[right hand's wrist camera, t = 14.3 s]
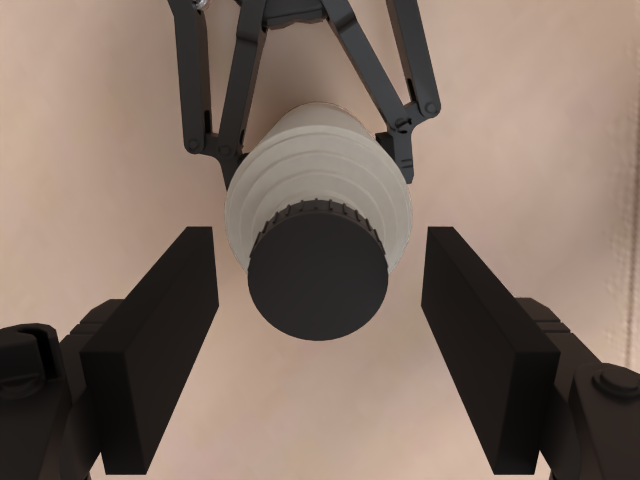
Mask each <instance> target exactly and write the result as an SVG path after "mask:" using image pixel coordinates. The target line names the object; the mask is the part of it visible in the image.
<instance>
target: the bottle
mask: <svg viewBox="0 0 640 480" xmlns="http://www.w3.org/2000/svg"><path fill="white" fill-rule="evenodd" d="M315 198H318V200H327V201H329V199H332V201H333V202H337V203H340V204H343V203H345V204H346V206H348V207H350V208H351V209H353V210H358V212H359V214H360V215H362V216H363V217H364V218H365V219H366V218H367V219H368V220H369V223H370V225H371V226H372V228H373V229H376V231H377V234H378V236H379V239H380V241H381V242H382V245H383V247H384V250H385V253H386V255H385V258H386V261H387V263H388V275H389V274H390V273H391V271H392V270H393V269H394V267H395V266H396V264H397V263H398V261H399V260H400V258H401V256H402V254H403V252H404V250H405V248H406V246H407V243H408V240H409V237H410V232H411V227H412V203H411V198H410V193H409V189H408V187H407V184H406V181H405V179H404V177H403V175H402V173H401V171H400V169H399V168H398V166H397V165H396V164H395V162H394V161H393V160H392V158H391V157H390V156H389V155H388V154H387V153H386V151H385V150H384V149H383V148H382V147H381V146H380V145H379V143H378V142H377V141H376V140H375V139H374V138H373V137H372V136H371V134H370V133H369V132H368V131H367V130H366V129H365V128H364V126H363V125H362V124H361V123H360V122H359V121H358V120H357V119H356V118H355V117H354V116H353V115H352V114H351V113H350V112H348V111H347V110H345V109H343V108H342V107H339V106H337V105H334V104H330V103H324V102H313V103H307V104H303V105H300V106H298V107H296V108H294V109H292V110H291V111H289V112H288V113H286V114H285V115H284V116H283V117H282V118H281V119H280V120H279V121H278V122H277V123H276V124H275V126H274V127H273V128H272V129H271V130H270V131H269V132H268V133H267V134H266V136H265V137H264V138H263V139H262V140H261V141H260V142H259V143H258V144H257V146H256V147H255V148H254V149H253V150H252V151H251V152H250V153H249V154H248V156H247V157H246V158H245V159H244V160H243V161H242V163H241V164H240V166H239V167H238V169H237V170H236V172H235V174H234V176H233V178H232V180H231V182H230V185H229V188H228V191H227V196H226V201H225V211H224V220H225V229H226V234H227V238H228V241H229V244H230V247H231V249H232V251H233V253H234V255H235V257H236V259H237V261H238V262H239V264H240V265H241V266H242V268H243V269H244V270H245V272H246V273H247V274H248V271H247V269H248V266H249V262H250V259H251V258H249V256H250V253H251V251H252V248H253V245H254V243H255V240H256V238H257V235H258V233H259V231H260V232H261V231H262V230H263V228H264V225H265V222H266V221H269V220H270V219H271V218H272V217H273V216H274V215H275V212H277V211H278V212H280V211H281V210H283V209H285V208H286V207H287V205H289V204H290V206H291V205H293V204H296V203H299V202H301V200H303V201H309V200H315Z"/></svg>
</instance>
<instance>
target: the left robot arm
mask: <svg viewBox="0 0 640 480" xmlns="http://www.w3.org/2000/svg"><path fill="white" fill-rule="evenodd" d="M234 1H235V2H236V3H237V4H238V5H239V6H240V7H241V10H240V15H239V20H238V26H237V32H236V45H235V51H234V56H233V61H232V66H231V72H230V77H229V82H228V87H227V93H226V98H225V103H224V108H223V114H222V119H221V124H220V129H219V134H217V133H213V131H212V113H211V95H210V77H209V59H208V41H207V27H206V20H205V16H204V12H203V11H205V10H206V9H208V7H209V6H210V3H211V0H168V3H169V5H170V8H171V10H172V13H173V15H174V22H175V35H176V48H177V61H178V74H179V87H180V99H181V112H182V125H183V138H184V146H185V149H186V150H187V151H188V152H189V153H191V154H204V155H209V156H212V157H214V158H216V159H217V160H218V161H219V163H220V165H221V168H222V172H223V177H224V181H225V186H226V190H227V191H228V188H229V185H230V182H231V180H232V178H233V176H234V174H235V172H236V170H237V169H238V167H239V166H240V164H241V163H242V161H243V160H244V159H245V158H246V157H247V156H248V154H249V153H244V154H242V149H243V140H244V135H245V131H246V126H247V121H248V116H249V112H250V107H251V102H252V97H253V93H254V88H255V83H256V78H257V73H258V69H259V64H260V59H261V54H262V50H263V47H264V44H265V40H266V36H267V31H268V28H269V29H271V30H275V29H281V28H285V27H287V26H289V25H291V24H293V23H295V22H300V23H308V24H311V23H317V22H323V20H324V19H326V20H327V22H328V23H329V25H330V27H331V29H332V30H333V32H334V34H335V35H336V37H337V38H338V40H339V42H340V43H341V45H342V47H343V49H344V51H345V52H346V54H347V56H348V58H349V59H350V61H351V63H352V65H353V67H354V68H355V70H356V72H357V74H358V75H359V77H360V79H361V81H362V83H363V84H364V86H365V88H366V90H367V91H368V93H369V95H370V97H371V98H372V100H373V102H374V104H375V106H376V107H377V109H378V111H379V113H380V114H381V116H382V118H383V120H384V122H385V123H386V125H387V132H382V133H375V136H376V141H377V142H378V143H379V145H380V146H381V147H382V148H383V149H384V150H385V151H386V153H387V154H388V155H389V156H390V157H391V158H392V160H393V161H394V162H395V164H396V165H397V166H398V168H399V169H400V171H401V173H402V175H403V177H404V179H405V181H406V184H411V183H412V180H413V176H414V170H413V158H412V145H411V133H412V131H413V129H414V128H415V126H417V125H418V124H420V123H421V122H423V121H425V120H427V119H429V118H434V117H436V116H437V115H438V114H439V113H440V110H441V103H440V99H439V95H438V90H437V86H436V82H435V77H434V73H433V69H432V64H431V60H430V56H429V51H428V47H427V43H426V38H425V34H424V30H423V25H422V21H421V17H420V12H419V8H418V4H417V0H386V5H387V8H388V12H389V16H390V20H391V24H392V28H393V32H394V36H395V40H396V44H397V48H398V52H399V56H400V60H401V64H402V68H403V72H404V76H405V80H406V84H407V88H408V92H409V96H410V100H411V102H409V103H408V104H406V105H404V106H403V104H402V102H401V101H400V99H399V97H398V95H397V93H396V91H395V89H394V88H393V86H392V84H391V82H390V80H389V78H388V77H387V75H386V73H385V71H384V69H383V67H382V66H381V64H380V62H379V60H378V58H377V56H376V54H375V53H374V51H373V49H372V47H371V45H370V43H369V42H368V40H367V38H366V36H365V34H364V32H363V31H362V29H361V27H360V25H359V23H358V21H357V19H356V16H355V14H354V12H353V10H352V8H351V6H350V4H349V2H348V0H234Z"/></svg>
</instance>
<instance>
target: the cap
mask: <svg viewBox="0 0 640 480" xmlns="http://www.w3.org/2000/svg"><path fill="white" fill-rule="evenodd" d="M385 255H386V253H385V250H384V247H383V245H382V242H381V241H380V239H379V236H378V234H377V231H376V229H373V228H372V226H371V225H370V223H369V220H368V219H367V218H366V219H365V218H364V217H363V216H362V215H360V214H359V212H358V210H353V209H351V208H350V207H348V206H346V204H345V203H343V204H340V203H337V202H333V201H332V199H329V201H327V200H318V198H315V200H309V201H303V200H301V202H299V203H296V204H293V205H291V206H290V204H289V205H287V207H286V208H285V209H283V210H281V211H280V212H278V211H277V212H275V215H274V216H273V217H272V218H271V219H270V220H269V221H266V222H265V225H264V228H263V230H262V231H261V232H260V231H259V233H258V235H257V238H256V240H255V243H254V245H253V248H252V251H251V253H250V256H249V258H251V259H250V262H249V266H248V269H247V271H248V286H249V291H250V294H251V297H252V300H253V302H254V304H255V306H256V308H257V309H258V311H259V312H260V313H261V315H262V316H263V317H264V318H265V319H266V320H267V321H268V322H269V323H270V324H271V325H273V326H274V327H275V328H277V329H278V330H280V331H282V332H284V333H286V334H288V335H290V336H293V337H296V338H300V339H304V340H312V341H324V340H332V339H336V338H340V337H343V336H346V335H348V334H350V333H352V332H354V331H356V330H358V329H359V328H361V327H362V326H364V325H365V324H366V323H367V322H368V321H369V320H370V319H371V318H372V317H373V316H374V315H375V314H376V312H377V311H378V309H379V308H380V306H381V304H382V302H383V300H384V297H385V294H386V291H387V286H388V263H387V261H386V258H385Z"/></svg>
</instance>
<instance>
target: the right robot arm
mask: <svg viewBox="0 0 640 480" xmlns="http://www.w3.org/2000/svg"><path fill="white" fill-rule="evenodd" d="M218 307H219V300H218V289H217V277H216V266H215V255H214V243H213V232H212V227H186V229H185V230H184V231H183V232H182V233H181V234H180V235H179V237H178V238H177V239H176V240H175V241H174V242H173V244H172V245H171V246H170V247H169V248H168V249H167V251H166V252H165V253H164V254H163V255H162V256H161V257H160V259H159V260H158V261H157V262H156V263H155V264H154V266H153V267H152V268H151V269H150V270H149V271H148V273H147V274H146V275H145V276H144V277H143V278H142V279H141V281H140V282H139V283H138V284H137V285H136V286H135V288H134V289H133V290H132V291H131V292H130V293H129V295H128V296H127V297H126V298H125V299H110V300H108V301H106V302H104V303H102V304H101V305H99V306H97V307H95V308H94V309H92V310H91V311H90V312H89V313H88V314H87V315H86V316H85V317H84V318H83V319H82V320H81V321H80V324H77V325H76V326H75V327H74V328H73V329H72V330H71V332H70V335H67V336H66V337H65V338H64V339H63V340H62V341H61V342H60V343H59V341H58V337H57V332H56V330H55V329H54V328H53V327H51V326H50V325H46V324H39V323H31V324H20V325H15V326H11V327H6V328H3V329H0V480H91V477H90V472H89V471H90V469H91V468H92V466H93V464H94V462H95V461H96V459H97V457H98V455H99V454H100V452H101V455H102V460H103V464H104V469H105V473H106V475H146V473H147V471H148V469H149V466H150V464H151V462H152V459H153V457H154V455H155V453H156V450H157V448H158V446H159V443H160V441H161V439H162V436H163V434H164V432H165V429H166V427H167V425H168V423H169V420H170V418H171V416H172V413H173V411H174V409H175V406H176V404H177V402H178V399H179V397H180V395H181V393H182V390H183V388H184V386H185V383H186V381H187V379H188V376H189V374H190V372H191V369H192V367H193V365H194V363H195V360H196V358H197V356H198V353H199V351H200V349H201V346H202V344H203V342H204V339H205V337H206V335H207V333H208V330H209V328H210V326H211V323H212V321H213V319H214V316H215V314H216V312H217V309H218ZM421 307H422V309H423V312H424V314H425V316H426V319H427V321H428V323H429V326H430V328H431V330H432V333H433V335H434V337H435V339H436V342H437V344H438V346H439V349H440V351H441V353H442V356H443V358H444V360H445V363H446V365H447V367H448V369H449V372H450V374H451V376H452V379H453V381H454V383H455V386H456V388H457V390H458V393H459V395H460V397H461V399H462V402H463V404H464V406H465V409H466V411H467V413H468V416H469V418H470V420H471V423H472V425H473V427H474V429H475V432H476V434H477V436H478V439H479V441H480V443H481V446H482V448H483V450H484V453H485V455H486V457H487V459H488V462H489V464H490V466H491V469H492V471H493V473H494V475H534V473H535V469H536V464H537V460H538V455H539V450H540V451H541V453H542V455H543V456H544V458H545V460H546V462H547V463H548V465H549V467H550V469H551V472H550V477H549V480H640V374H638V373H636V372H634V371H632V370H629V369H627V368H625V367H621V366H617V365H613V364H609V363H602V362H601V361H600V360H599V359H598V358H597V357H596V356H595V355H594V354H593V353H592V352H591V351H590V350H589V349H588V348H587V347H586V346H585V345H584V344H583V343H582V342H581V341H580V340H579V339H578V338H577V337H576V336H575V335H574V334H573V333H571V332H570V329H569V328H568V327H567V326H566V325H565V324H564V323H561V322H560V319H559V318H558V317H557V316H556V315H555V314H554V313H553V312H552V311H551V310H550V309H549V308H548V307H546V306H544V305H542V304H541V303H539V302H537V301H535V300H533V299H532V298H514V297H513V296H512V295H511V293H510V292H509V291H508V290H507V289H506V288H505V286H504V285H503V284H502V283H501V282H500V281H499V279H498V278H497V277H496V276H495V275H494V274H493V273H492V271H491V270H490V269H489V268H488V267H487V266H486V264H485V263H484V262H483V261H482V260H481V259H480V257H479V256H478V255H477V254H476V253H475V252H474V251H473V249H472V248H471V247H470V246H469V245H468V244H467V242H466V241H465V240H464V239H463V238H462V237H461V235H460V234H459V233H458V232H457V231H456V230H455V229H454V227H428V232H427V243H426V255H425V266H424V277H423V289H422V300H421Z"/></svg>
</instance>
